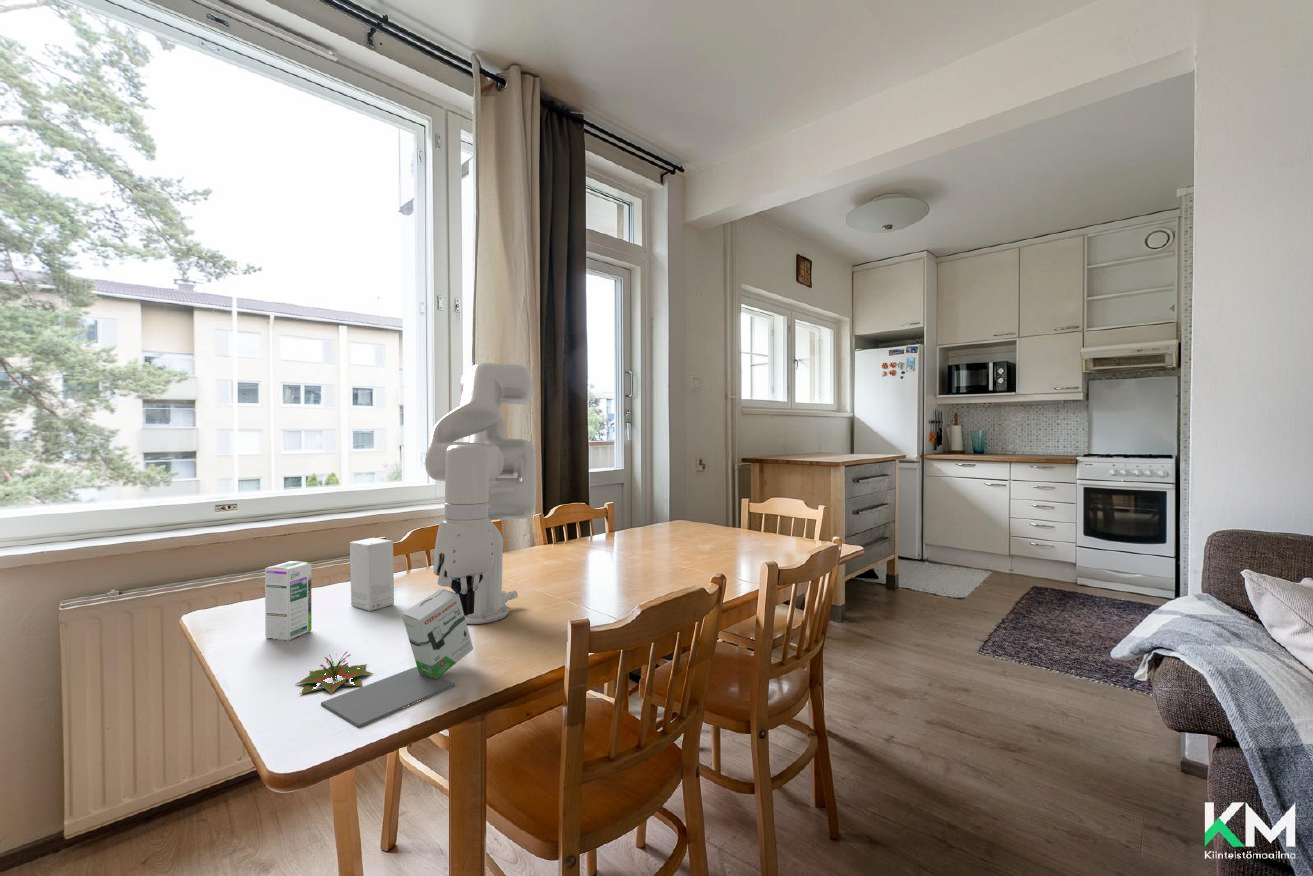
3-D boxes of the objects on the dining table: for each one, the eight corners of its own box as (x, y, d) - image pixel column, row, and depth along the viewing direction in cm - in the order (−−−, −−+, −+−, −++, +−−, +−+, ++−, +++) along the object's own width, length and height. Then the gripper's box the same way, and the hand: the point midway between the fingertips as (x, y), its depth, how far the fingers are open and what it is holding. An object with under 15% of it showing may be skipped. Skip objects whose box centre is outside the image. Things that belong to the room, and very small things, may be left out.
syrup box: (288, 641, 109) (289, 568, 109) (263, 638, 110) (264, 566, 110) (312, 631, 115) (313, 562, 115) (288, 628, 116) (288, 560, 116)
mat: (416, 668, 98) (416, 666, 98) (455, 686, 92) (455, 683, 92) (320, 705, 85) (321, 702, 85) (359, 727, 79) (359, 725, 79)
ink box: (436, 681, 93) (417, 620, 90) (417, 673, 96) (398, 614, 92) (475, 648, 100) (459, 591, 97) (457, 642, 103) (441, 586, 99)
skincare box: (394, 605, 133) (395, 540, 132) (367, 612, 127) (368, 545, 127) (374, 598, 137) (375, 536, 137) (348, 605, 132) (348, 540, 131)
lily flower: (300, 672, 97) (301, 646, 97) (377, 662, 101) (377, 638, 101) (285, 705, 86) (285, 675, 86) (371, 692, 90) (372, 664, 90)
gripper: (486, 506, 108) (484, 600, 108) (416, 514, 96) (414, 620, 96) (512, 510, 104) (510, 607, 104) (443, 518, 92) (441, 629, 92)
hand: (464, 613), depth 100 cm, fingers closed
